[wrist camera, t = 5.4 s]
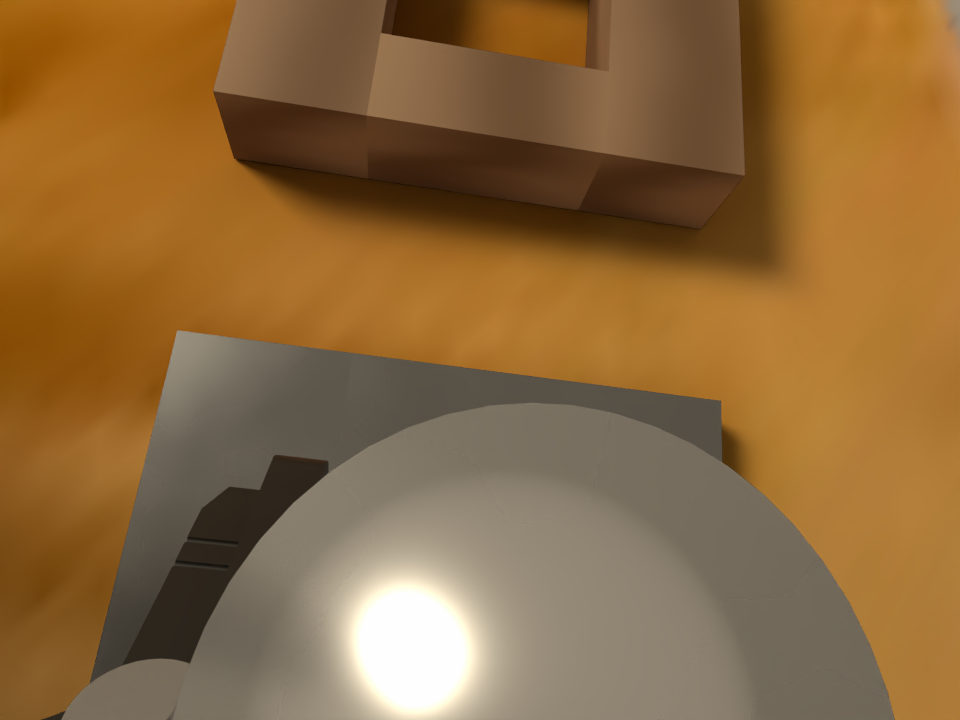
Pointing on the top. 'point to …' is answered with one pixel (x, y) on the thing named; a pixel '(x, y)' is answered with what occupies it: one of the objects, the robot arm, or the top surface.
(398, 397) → the socket plate
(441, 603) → the grey metal cylinder
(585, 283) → the top surface
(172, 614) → the robot arm
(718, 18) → the rack
